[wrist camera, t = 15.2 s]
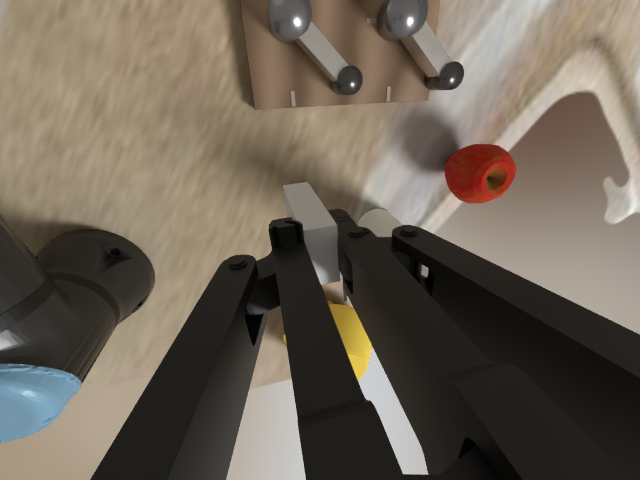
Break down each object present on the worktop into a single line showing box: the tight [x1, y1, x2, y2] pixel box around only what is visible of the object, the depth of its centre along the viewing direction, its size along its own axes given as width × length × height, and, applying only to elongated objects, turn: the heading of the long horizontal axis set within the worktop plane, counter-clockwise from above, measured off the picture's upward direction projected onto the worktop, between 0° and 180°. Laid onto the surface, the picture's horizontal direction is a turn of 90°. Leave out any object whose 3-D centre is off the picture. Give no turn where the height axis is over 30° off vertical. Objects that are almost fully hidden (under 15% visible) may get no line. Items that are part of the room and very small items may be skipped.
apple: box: [445, 144, 516, 203], centre depth 42 cm, size 9×8×11 cm
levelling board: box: [240, 0, 440, 110], centre depth 34 cm, size 24×14×4 cm, turn 92°
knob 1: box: [268, 0, 363, 95], centre depth 32 cm, size 13×4×4 cm, turn 47°
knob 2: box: [377, 0, 464, 90], centre depth 34 cm, size 13×4×4 cm, turn 48°
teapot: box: [283, 300, 372, 380], centre depth 51 cm, size 20×16×14 cm
